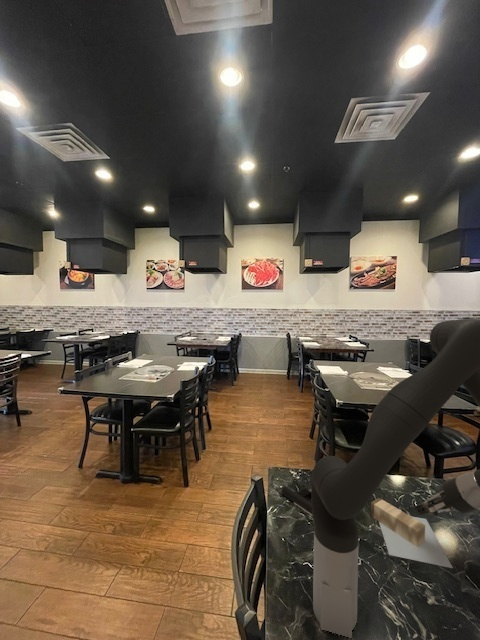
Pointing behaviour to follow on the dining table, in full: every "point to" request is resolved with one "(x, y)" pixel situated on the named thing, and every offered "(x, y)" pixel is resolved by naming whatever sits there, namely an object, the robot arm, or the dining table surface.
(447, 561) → the rubber mat
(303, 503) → the door handle
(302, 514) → the dining table surface
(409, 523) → the birch block
